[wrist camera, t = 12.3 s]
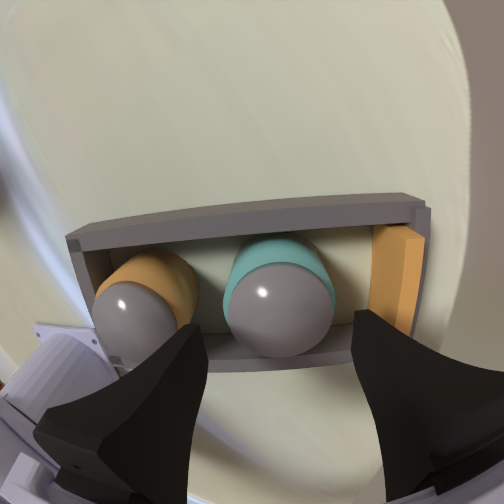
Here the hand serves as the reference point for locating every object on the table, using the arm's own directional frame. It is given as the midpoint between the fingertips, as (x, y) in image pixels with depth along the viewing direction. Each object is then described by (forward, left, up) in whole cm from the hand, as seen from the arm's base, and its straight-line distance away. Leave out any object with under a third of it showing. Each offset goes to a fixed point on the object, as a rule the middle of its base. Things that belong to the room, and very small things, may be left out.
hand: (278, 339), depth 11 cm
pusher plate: (0, -6, -5) cm, 8 cm away
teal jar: (0, 0, -5) cm, 5 cm away
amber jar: (0, +7, -5) cm, 9 cm away
